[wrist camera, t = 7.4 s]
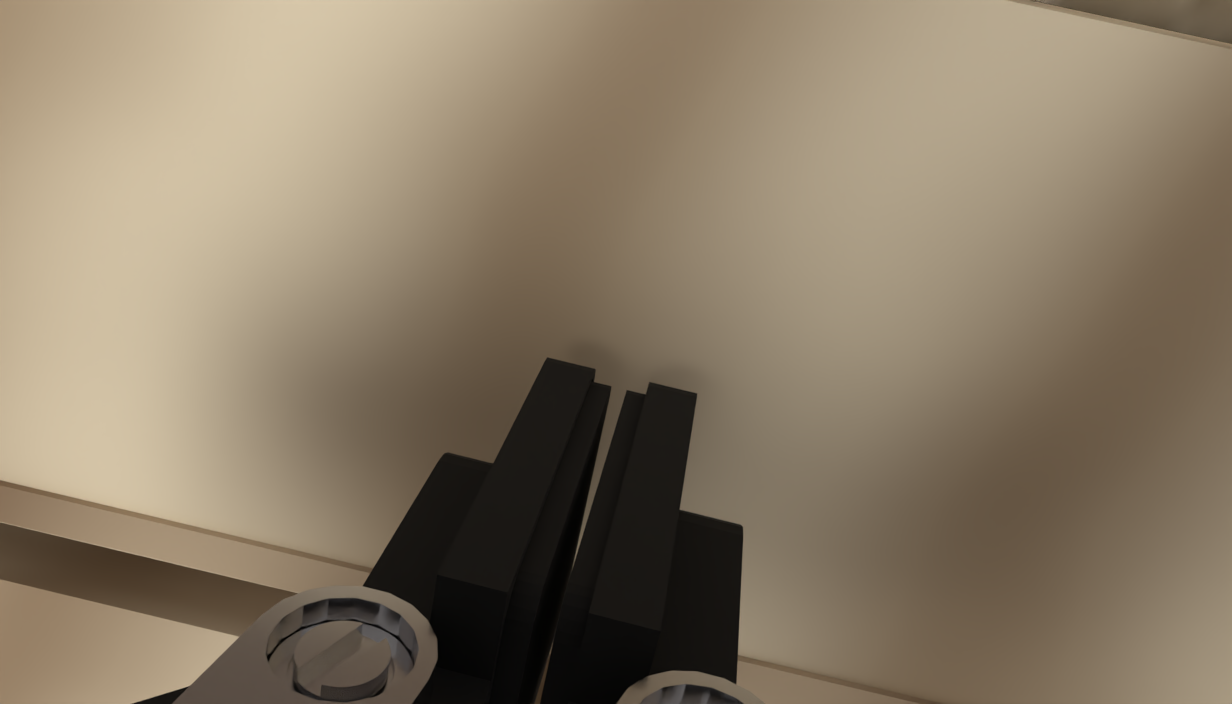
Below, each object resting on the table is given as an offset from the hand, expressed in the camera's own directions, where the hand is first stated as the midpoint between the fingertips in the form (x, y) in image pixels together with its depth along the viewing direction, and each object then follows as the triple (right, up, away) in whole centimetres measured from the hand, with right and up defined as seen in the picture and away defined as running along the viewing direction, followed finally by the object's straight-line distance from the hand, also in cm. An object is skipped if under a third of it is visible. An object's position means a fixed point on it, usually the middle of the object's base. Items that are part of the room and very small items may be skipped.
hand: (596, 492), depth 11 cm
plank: (0, +2, +1) cm, 3 cm away
